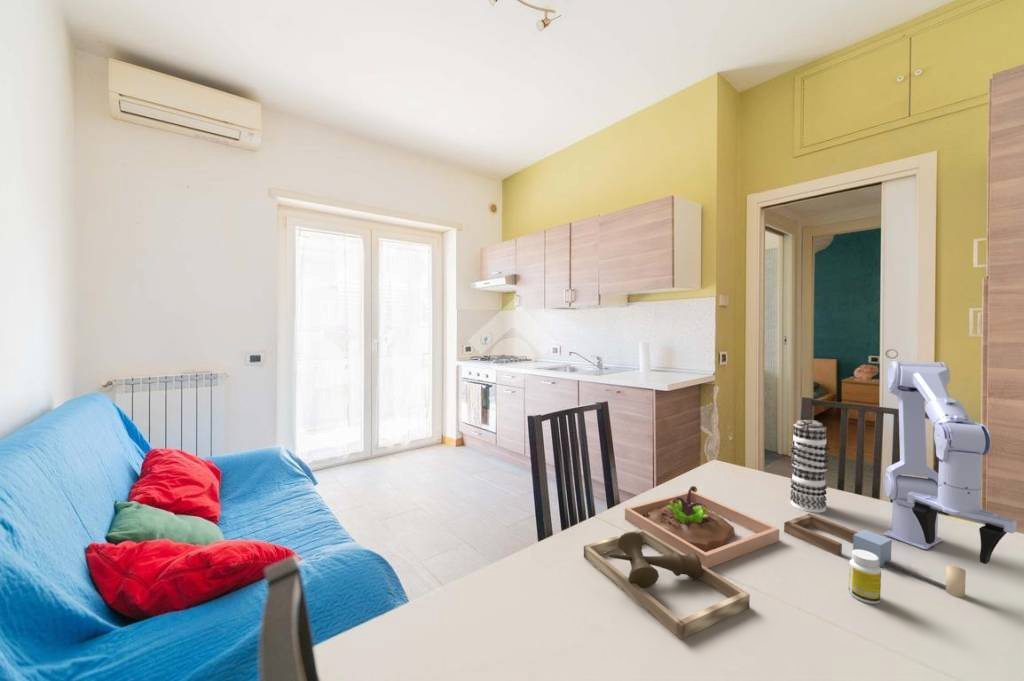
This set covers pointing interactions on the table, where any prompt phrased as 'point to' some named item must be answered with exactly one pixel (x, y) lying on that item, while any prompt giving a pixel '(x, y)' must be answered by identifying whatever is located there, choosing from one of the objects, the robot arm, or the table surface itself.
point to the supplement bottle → (864, 576)
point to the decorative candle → (809, 466)
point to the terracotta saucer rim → (726, 552)
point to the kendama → (654, 561)
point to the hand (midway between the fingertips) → (956, 551)
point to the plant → (693, 523)
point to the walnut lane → (798, 530)
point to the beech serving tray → (679, 627)
